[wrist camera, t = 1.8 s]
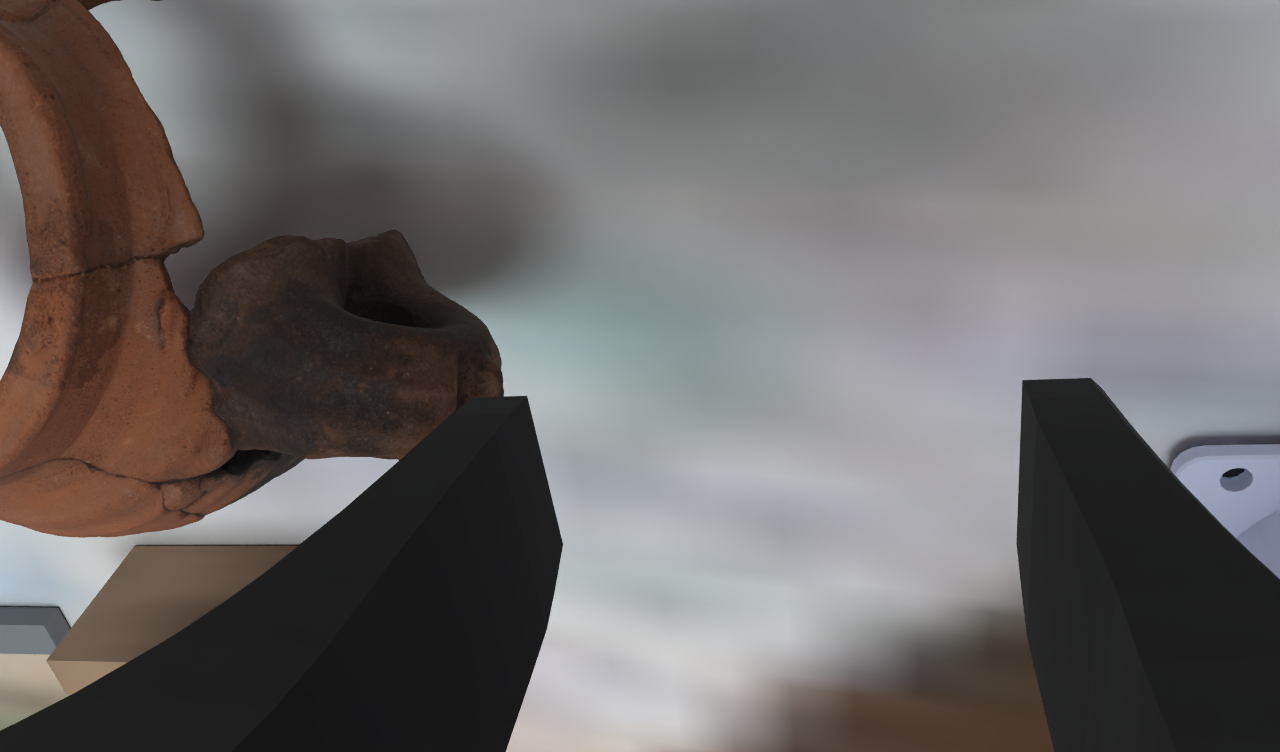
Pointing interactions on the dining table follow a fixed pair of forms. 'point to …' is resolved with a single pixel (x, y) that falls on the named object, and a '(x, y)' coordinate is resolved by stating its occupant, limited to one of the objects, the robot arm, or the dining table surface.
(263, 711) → the robot arm
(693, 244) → the dining table surface
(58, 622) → the frame
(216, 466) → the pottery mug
